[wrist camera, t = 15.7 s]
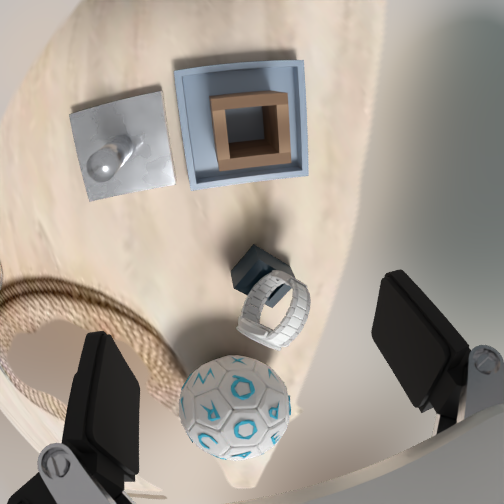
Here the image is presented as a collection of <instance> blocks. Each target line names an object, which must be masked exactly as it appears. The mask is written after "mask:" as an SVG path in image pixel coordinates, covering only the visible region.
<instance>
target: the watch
mask: <svg viewBox="0 0 504 504" xmlns="http://www.w3.org/2000/svg"><path fill="white" fill-rule="evenodd" d="M231 277H232V282H233V288H234V289H236V290H238V291H240V292H242V293H244V294H246V295H248V296H247V298H246V300H245V302H244V305H243V308H242V311H241V312H242V313H241V315H240V316H239V318H238V326H237V327H236V329H237V330H238V331H239V332H240V333H242V334H243V335H245V336H247V337H248V338H250V339H252V340H254V341H256V342H258V343H260V344H262V345H264V346H267V347H268V348H272V349H275V350H281V347H287V346H289V344H290V343H291V342H292V340H294V339H295V338H296V337H297V336H298V334H299V333H300V332H301V330H302V329H303V327H304V325H303V324H305V323H306V321H307V318H308V314H309V310H310V294H309V291H308V289H307V286H306V285H305V284H304V283H302V282H301V281H299V280H297V279H296V278H295V276H294V274H293V272H292V270H291V267H290V266H289V265H287V264H285V263H284V262H282V261H280V260H279V259H277V258H276V257H274V256H272V255H271V254H269V253H267V252H266V251H264V250H263V249H261V248H259V247H258V246H256V245H254V244H253V246H252V247H251V248H250V249H249V250H248V252H247V253H246V254H245V255H244V256H243V258H242V259H241V260H240V261H239V262H238V264H237V265H236V266H235V267H234V268H233V269H232V271H231ZM291 288H292V289H293V295H292V297H293V298H292V300H291V304H290V307H289V309H288V311H287V313H286V316H285V317H284V318H283V320H282V321H281V322H280V324H279V325H278V326H277V327H276V328H275V329H274V330H272V329H270V328H268V327H266V326H264V325H262V324H260V323H259V322H260V321H259V320H260V316H261V313H260V312H262V309H263V305H264V304H265V305H267V306H269V307H271V308H273V307H274V306H275V305H276V304H277V303H278V302H279V301H280V300H281V299H282V297H283V296H284V295H285V294H286V293H287V292H288V291H289V290H290V289H291ZM248 297H249V298H248ZM250 304H251V305H250ZM262 304H263V305H262ZM252 305H253V306H252ZM254 306H255V307H254ZM256 307H257V308H256ZM292 315H293V316H292ZM287 316H288V317H287ZM294 316H295V317H294ZM296 317H297V318H296ZM298 318H299V319H298ZM300 319H301V320H300ZM301 323H302V324H301ZM287 324H288V325H287Z"/></svg>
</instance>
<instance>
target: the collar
mask: <svg viewBox="0 0 504 504" xmlns="http://www.w3.org/2000/svg"><path fill="white" fill-rule="evenodd" d="M209 101H210V110H211V119H212V127H213V136H214V144H215V152H216V158H217V162H218V167H219V171H227V170H235V169H243V168H251V167H259V166H268V165H277V164H287V163H291V144H290V124H289V106H288V93H286V92H279V91H272V90H267V91H253V92H242V93H232V94H223V95H214V96H209ZM256 106H262V113H263V126H264V139H259V140H250V141H241V142H233V143H228V135H227V125H226V116H225V110H227V109H236V108H245V107H256Z"/></svg>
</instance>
